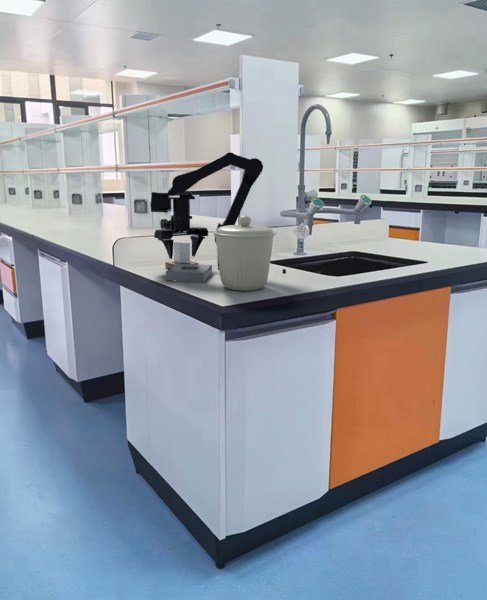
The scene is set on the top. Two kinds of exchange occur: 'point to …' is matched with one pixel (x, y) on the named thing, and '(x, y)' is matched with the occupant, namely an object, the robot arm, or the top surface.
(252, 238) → the canister
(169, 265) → the walnut stand collar
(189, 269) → the grey flat block
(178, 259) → the steel key peg
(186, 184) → the robot arm
